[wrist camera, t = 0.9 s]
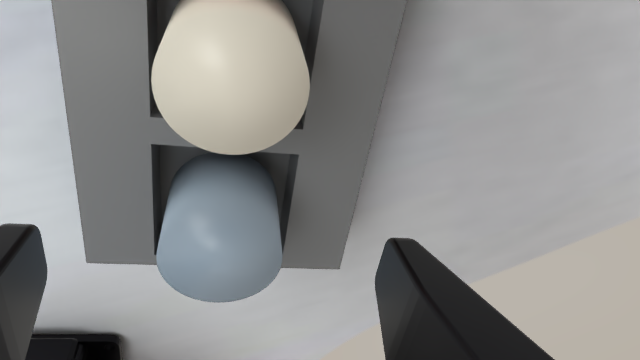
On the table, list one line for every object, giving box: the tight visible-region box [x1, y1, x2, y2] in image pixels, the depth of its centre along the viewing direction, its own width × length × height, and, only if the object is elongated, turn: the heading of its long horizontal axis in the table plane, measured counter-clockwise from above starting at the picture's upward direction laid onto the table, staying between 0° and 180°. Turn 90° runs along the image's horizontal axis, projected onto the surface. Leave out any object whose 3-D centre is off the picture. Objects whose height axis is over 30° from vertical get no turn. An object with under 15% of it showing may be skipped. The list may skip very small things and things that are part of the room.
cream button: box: [151, 0, 310, 155], centre depth 14 cm, size 4×4×4 cm
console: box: [51, 0, 407, 269], centre depth 16 cm, size 18×10×3 cm, turn 171°
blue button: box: [156, 152, 283, 302], centre depth 17 cm, size 4×4×4 cm
